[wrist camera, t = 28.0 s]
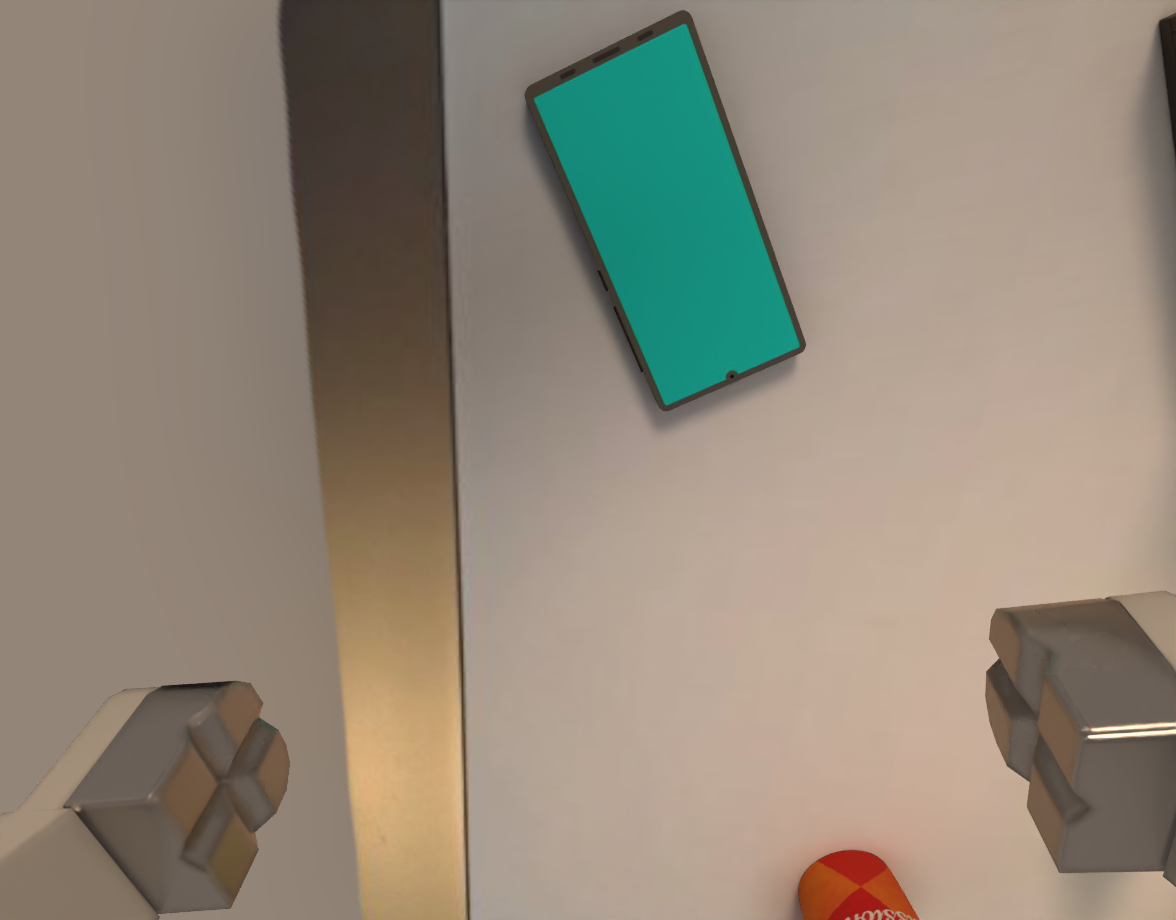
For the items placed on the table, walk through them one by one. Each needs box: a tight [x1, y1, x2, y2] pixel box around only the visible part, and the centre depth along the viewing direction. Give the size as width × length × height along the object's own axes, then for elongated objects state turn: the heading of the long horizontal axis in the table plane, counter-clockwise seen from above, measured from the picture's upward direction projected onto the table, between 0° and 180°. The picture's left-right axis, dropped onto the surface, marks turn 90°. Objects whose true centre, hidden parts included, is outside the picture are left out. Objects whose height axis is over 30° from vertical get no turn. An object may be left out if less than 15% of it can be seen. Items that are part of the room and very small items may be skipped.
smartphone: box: [525, 10, 806, 411], centre depth 33 cm, size 7×1×15 cm
